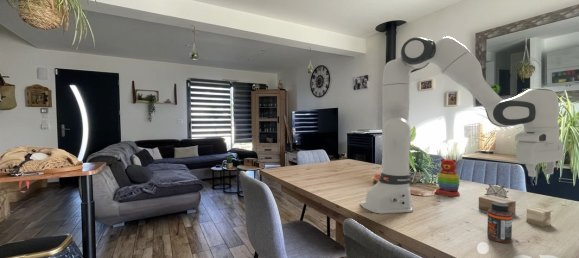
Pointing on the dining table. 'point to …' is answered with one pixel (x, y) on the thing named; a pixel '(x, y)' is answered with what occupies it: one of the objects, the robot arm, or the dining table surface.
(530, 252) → the dining table surface
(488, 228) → the supplement bottle
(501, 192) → the game die
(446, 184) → the stacking bear
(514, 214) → the base plate
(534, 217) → the oak block
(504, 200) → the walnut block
